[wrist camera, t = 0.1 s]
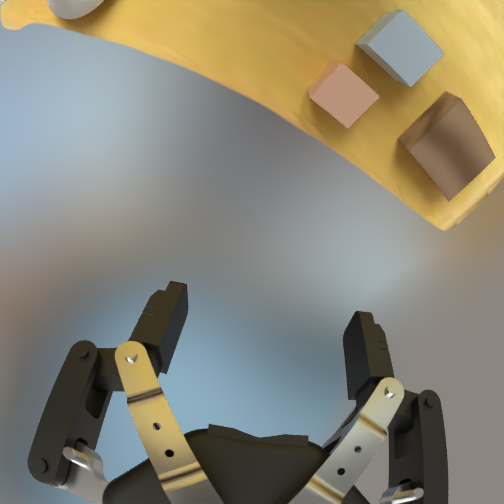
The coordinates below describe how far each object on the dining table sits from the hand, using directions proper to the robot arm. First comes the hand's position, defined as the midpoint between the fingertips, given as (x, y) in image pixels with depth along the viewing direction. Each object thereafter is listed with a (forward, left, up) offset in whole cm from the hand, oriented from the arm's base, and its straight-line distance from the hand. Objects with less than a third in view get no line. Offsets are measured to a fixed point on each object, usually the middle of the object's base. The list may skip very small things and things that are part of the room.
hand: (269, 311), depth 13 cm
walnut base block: (-13, +14, -23) cm, 30 cm away
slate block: (-16, +2, -22) cm, 28 cm away
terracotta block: (-8, +1, -22) cm, 24 cm away
